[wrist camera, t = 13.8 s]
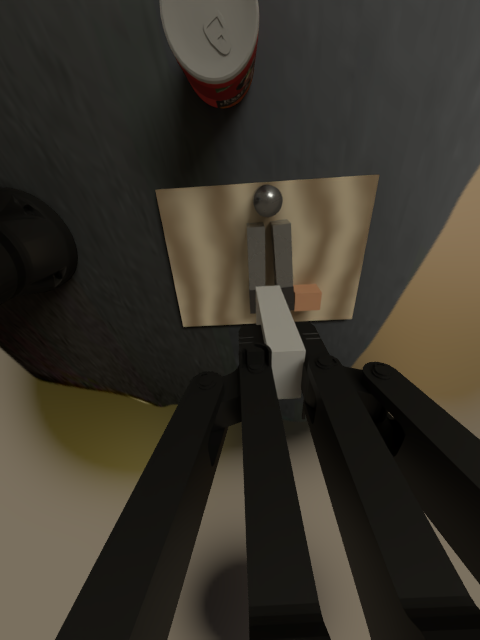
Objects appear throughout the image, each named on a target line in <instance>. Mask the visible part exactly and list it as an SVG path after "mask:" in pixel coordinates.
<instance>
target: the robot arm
mask: <svg viewBox="0 0 480 640" xmlns="http://www.w3.org/2000/svg"><path fill="white" fill-rule="evenodd" d="M76 265H77V249H76V245H75V242H74V239H73V237H72V235H71V233H70V231H69V229H68V227H67V226H66V224H65V223H64V222H63V220H62V219H61V218H60V217H59V216H58V214H57V213H56V212H55V211H54V210H53V209H51V208H50V207H49V206H48V205H47V204H45V203H44V202H43V201H41V200H40V199H38V198H36V197H35V196H33V195H31V194H29V193H26V192H24V191H21V190H17V189H13V188H0V304H2V303H4V302H5V301H7V300H9V299H11V298H13V297H15V296H19V295H27V294H34V293H41V292H46V291H50V290H53V289H55V288H57V287H58V286H60V285H62V284H63V283H65V282H66V281H68V280H69V279H70V278H71V276H72V275H73V273H74V271H75V269H76ZM301 390H302V393H303V396H304V402H303V410H302V419H305V415H306V418H307V421H308V425H309V428H310V432H311V435H312V438H313V442H314V445H315V448H316V452H317V456H318V459H319V462H320V465H321V469H322V473H323V476H324V479H325V483H326V486H327V489H328V493H329V496H330V500H331V503H332V507H333V510H334V513H335V517H336V520H337V524H338V527H339V531H340V534H341V537H342V541H343V544H344V547H345V551H346V554H347V558H348V561H349V565H350V568H351V571H352V575H353V577H354V582H355V585H356V589H357V592H358V595H359V598H360V602H361V605H362V609H363V612H364V615H365V619H366V623H367V626H368V629H369V633H370V637H371V640H480V609H479V608H478V607H477V606H476V605H475V603H474V601H473V600H472V599H471V597H470V595H469V593H468V591H467V590H466V588H465V586H464V584H463V582H462V580H461V579H460V577H459V575H458V573H457V572H456V570H455V568H454V566H453V564H452V563H451V561H450V559H449V557H448V555H447V554H446V552H445V550H444V548H443V546H442V545H441V543H440V541H439V539H438V537H437V536H436V534H435V532H434V530H433V528H432V527H431V525H430V523H429V521H428V520H427V517H428V518H429V519H430V520H431V522H432V523H433V524H434V526H435V527H436V528H437V530H438V531H439V532H440V533H441V535H442V536H443V537H444V539H445V540H446V541H447V543H448V544H449V545H450V546H451V548H452V549H453V550H454V552H455V553H456V554H457V555H458V557H459V558H460V559H461V561H462V562H463V563H464V565H465V566H466V567H467V568H468V570H469V571H470V572H471V574H472V575H473V576H474V577H475V579H476V580H477V581H478V582H479V584H480V439H478V438H477V437H476V436H475V435H473V434H472V433H471V432H470V431H469V430H468V429H466V428H465V427H464V426H463V425H461V424H460V423H459V422H458V421H457V420H456V419H454V418H453V417H452V416H451V415H450V414H448V413H447V412H446V411H445V410H444V409H443V408H441V407H440V406H439V405H438V404H436V403H435V402H434V401H433V400H432V399H430V398H429V397H428V396H427V395H426V394H424V393H423V392H422V391H421V390H420V389H419V388H417V387H416V386H415V385H414V384H413V383H411V382H410V381H409V380H408V379H407V378H405V377H404V376H403V375H402V374H401V373H400V372H398V371H397V370H396V369H394V368H393V367H391V366H390V365H387V364H384V363H380V362H369V363H367V364H365V365H364V367H363V370H359V369H354V368H349V367H345V366H342V364H341V363H340V361H339V360H338V359H337V358H335V357H333V356H331V355H329V353H328V351H327V349H326V347H325V345H324V343H323V341H322V340H321V339H320V336H319V334H318V332H317V330H316V328H315V326H313V325H312V324H311V323H309V322H294V320H293V318H292V315H291V313H290V310H289V308H288V305H287V303H286V300H285V298H284V295H283V293H282V290H281V288H280V285H278V286H259V287H256V325H248V326H242V327H241V329H240V330H239V366H238V368H237V369H236V370H235V371H234V372H233V373H231V374H228V375H226V376H221V375H219V374H218V373H215V372H212V371H211V372H203V373H199V374H198V375H196V376H195V377H194V378H193V379H192V380H191V381H190V383H189V385H188V387H187V389H186V391H185V393H184V395H183V397H182V399H181V400H180V402H179V404H178V406H177V408H176V410H175V412H174V414H173V416H172V418H171V420H170V422H169V423H168V425H167V427H166V429H165V431H164V434H163V435H162V437H161V439H160V441H159V443H158V444H157V446H156V448H155V450H154V452H153V454H152V456H151V458H150V460H149V461H148V463H147V465H146V467H145V469H144V471H143V473H142V475H141V477H140V479H139V481H138V482H137V485H136V486H135V488H134V490H133V492H132V494H131V496H130V498H129V500H128V502H127V503H126V505H125V507H124V509H123V511H122V513H121V515H120V517H119V519H118V521H117V522H116V524H115V526H114V528H113V530H112V532H111V534H110V536H109V538H108V540H107V542H106V543H105V545H104V547H103V549H102V551H101V553H100V555H99V557H98V559H97V561H96V563H95V564H94V566H93V568H92V570H91V572H90V574H89V576H88V578H87V580H86V582H85V583H84V585H83V587H82V589H81V591H80V593H79V595H78V597H77V599H76V601H75V602H74V605H73V606H72V608H71V610H70V612H69V614H68V616H67V618H66V620H65V622H64V624H63V625H62V627H61V629H60V631H59V633H58V635H57V637H56V639H55V640H167V638H168V635H169V631H170V628H171V624H172V621H173V618H174V614H175V610H176V607H177V604H178V600H179V597H180V593H181V590H182V586H183V583H184V579H185V576H186V572H187V569H188V565H189V562H190V559H191V555H192V552H193V548H194V545H195V541H196V537H197V534H198V531H199V527H200V524H201V520H202V517H203V513H204V510H205V506H206V503H207V499H208V495H209V492H210V489H211V486H212V482H213V478H214V475H215V472H216V468H217V465H218V461H219V458H220V454H221V451H222V447H223V444H224V440H225V437H226V433H227V430H228V426H231V425H233V424H236V423H239V422H242V441H243V442H242V443H243V467H244V468H243V469H244V495H245V520H246V548H247V573H248V597H249V598H248V600H249V631H250V632H249V637H250V640H331V639H330V636H329V634H328V631H327V629H326V626H325V624H324V621H323V617H322V614H321V610H320V606H319V601H318V596H317V591H316V586H315V581H314V576H313V571H312V566H311V561H310V556H309V551H308V546H307V541H306V536H305V531H304V526H303V521H302V516H301V511H300V506H299V501H298V496H297V491H296V487H295V481H294V476H293V471H292V466H291V461H290V457H289V451H288V446H287V442H286V436H285V431H284V426H283V421H282V416H281V411H280V406H279V401H278V399H290V398H301ZM388 412H389V413H390V414H391V415H392V416H393V417H392V416H391V415H390V414H389V413H388ZM423 511H424V512H423ZM424 513H425V514H426V515H427V517H426V516H425V514H424Z"/></svg>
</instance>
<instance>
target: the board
mask: <svg viewBox="0 0 480 640" xmlns="http://www.w3.org/2000/svg"><path fill="white" fill-rule="evenodd" d="M378 179H379V175H364V176H350V177H335V178H320V179H305V180H291V181H276V182H261V183H246V184H232V185H217V186H202V187H188V188H173V189H158V190H155V191H156V196H157V201H158V206H159V210H160V215H161V220H162V225H163V230H164V235H165V240H166V245H167V250H168V254H169V259H170V264H171V269H172V274H173V279H174V284H175V289H176V294H177V298H178V303H179V308H180V313H181V318H182V323H183V327H190V326H211V325H232V324H253V323H256V314H250V300H249V271H248V248H247V226H246V223H257V222H263V223H264V226H265V286H275V283H274V280H275V279H274V266H273V252H272V239H271V226H270V221H276V220H283V219H287V220H288V221H289V222H290V223H291V236H292V265H293V285H302V284H317V286H318V287H319V289H320V290H321V292H322V297H321V305H320V310H311V311H294V310H291V311H290V313H291V315H292V318H293V320H294V322H296V321H317V320H338V319H352V315H353V310H354V305H355V300H356V294H357V289H358V284H359V279H360V273H361V268H362V263H363V258H364V252H365V247H366V242H367V237H368V231H369V226H370V221H371V216H372V210H373V205H374V200H375V195H376V189H377V184H378ZM264 184H269V185H272V186H274V187H276V188H277V189H279V191H280V192H281V194H282V198H283V203H282V207H281V209H280V211H279V212H278V213H277V214H276V215H274V216H272V217H263V216H261V215H259V214H258V213H257V211H256V210H255V207H254V205H253V194H254V192H255V190H256V189H257V188H258V187H259V186H261V185H264Z"/></svg>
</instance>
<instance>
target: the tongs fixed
mask: <svg viewBox="0 0 480 640" xmlns="http://www.w3.org/2000/svg"><path fill="white" fill-rule="evenodd" d="M282 203H283V198H282V194H281V192H280V191H279V189H277V188H276V187H274V186H272V185H269V184H264V185H261V186H259V187H258V188H257V189H256V190H255V192H254V194H253V205H254V207H255V210H256V211H257V213H258V214H259V215H261V216H263V217H272V216H274V215H276V214H277V213H278V212H279V211H280V209H281V207H282ZM246 226H247V248H248V271H249V300H250V314H256V287H259V286H265V226H264V223H263V222H257V223H246Z"/></svg>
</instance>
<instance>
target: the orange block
mask: <svg viewBox="0 0 480 640" xmlns="http://www.w3.org/2000/svg"><path fill="white" fill-rule="evenodd" d="M293 286H294V311H311V310H320V305H321V297H322V292H321V290H320V289H319V287H318V286H317V284H302V285H293Z"/></svg>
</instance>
